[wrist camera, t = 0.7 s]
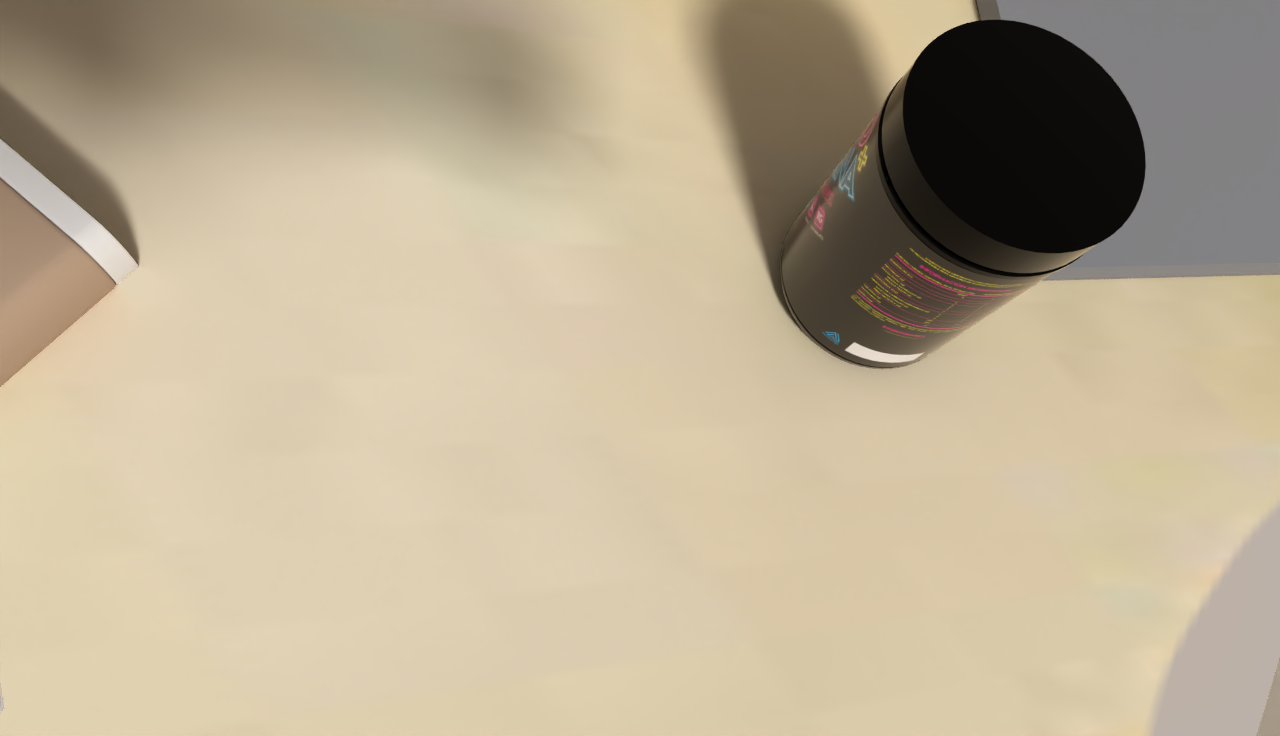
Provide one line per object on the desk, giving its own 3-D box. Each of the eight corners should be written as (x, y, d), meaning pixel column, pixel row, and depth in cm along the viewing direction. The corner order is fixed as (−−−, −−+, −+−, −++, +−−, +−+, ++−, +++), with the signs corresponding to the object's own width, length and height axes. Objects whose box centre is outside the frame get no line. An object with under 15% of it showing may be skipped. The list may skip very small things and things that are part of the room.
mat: (967, -38, 40) (982, -59, 39) (1258, -24, 42) (1280, -43, 41) (1040, 280, 36) (1059, 267, 35) (1355, 272, 39) (1382, 260, 37)
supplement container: (939, 203, 36) (1121, 29, 26) (963, 378, 34) (1170, 260, 24) (765, 194, 35) (887, 7, 25) (779, 374, 33) (918, 248, 23)
